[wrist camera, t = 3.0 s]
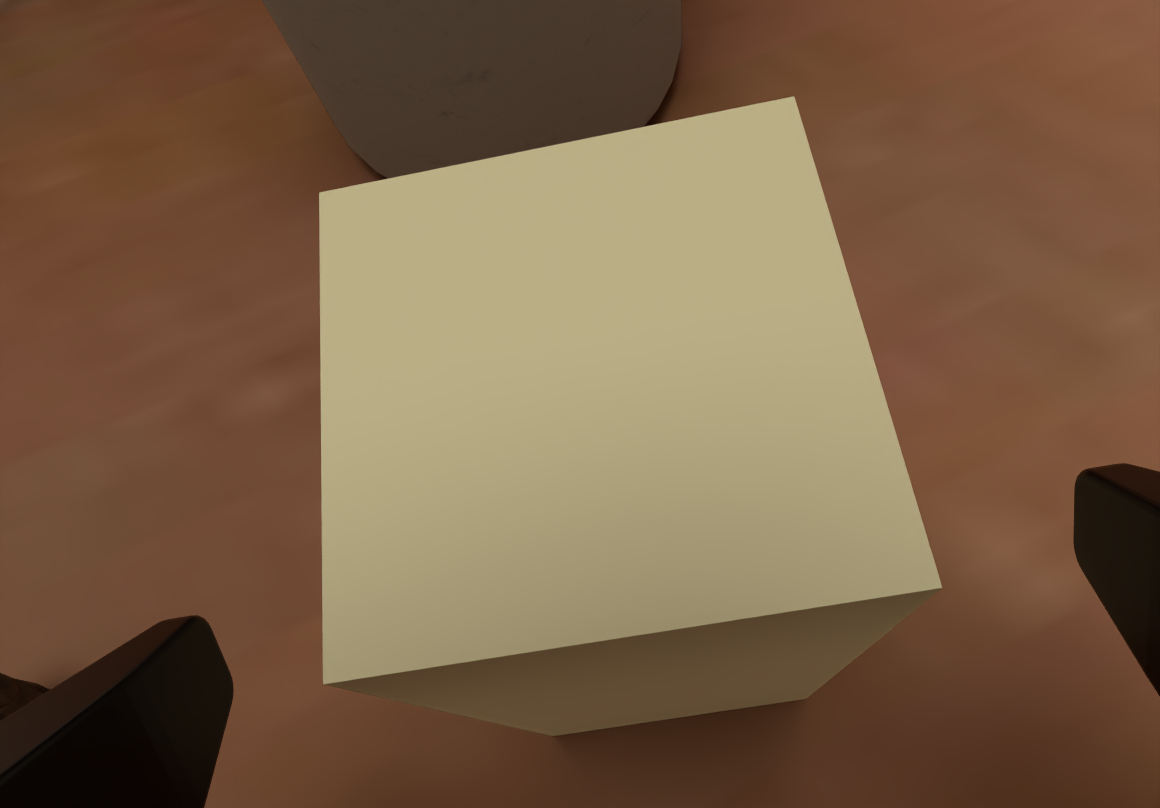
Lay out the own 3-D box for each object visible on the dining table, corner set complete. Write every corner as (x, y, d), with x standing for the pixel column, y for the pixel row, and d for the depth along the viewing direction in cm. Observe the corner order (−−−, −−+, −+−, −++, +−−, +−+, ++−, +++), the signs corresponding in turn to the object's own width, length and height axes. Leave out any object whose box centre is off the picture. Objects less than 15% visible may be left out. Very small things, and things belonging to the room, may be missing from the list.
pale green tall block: (806, 699, 17) (942, 588, 7) (552, 736, 17) (323, 683, 7) (752, 458, 19) (794, 96, 9) (526, 496, 19) (318, 192, 9)
